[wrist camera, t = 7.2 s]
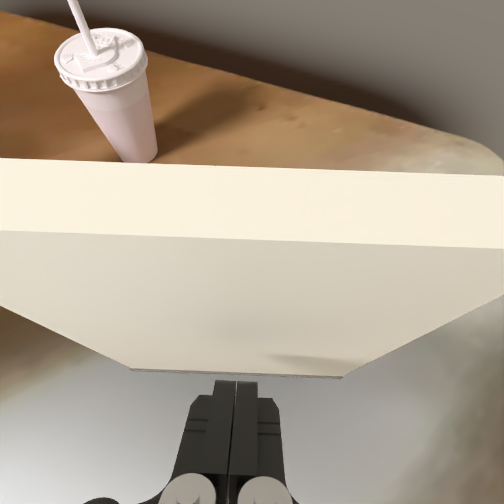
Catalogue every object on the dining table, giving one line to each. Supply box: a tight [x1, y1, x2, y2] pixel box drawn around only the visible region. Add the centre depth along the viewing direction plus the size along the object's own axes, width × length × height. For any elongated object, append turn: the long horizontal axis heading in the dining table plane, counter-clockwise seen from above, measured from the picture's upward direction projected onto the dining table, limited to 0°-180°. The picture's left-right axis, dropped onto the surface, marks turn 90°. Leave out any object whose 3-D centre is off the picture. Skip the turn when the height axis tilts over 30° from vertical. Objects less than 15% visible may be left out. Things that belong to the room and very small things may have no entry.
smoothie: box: [54, 0, 158, 163], centre depth 26 cm, size 6×6×14 cm
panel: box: [0, 158, 504, 379], centre depth 13 cm, size 12×2×16 cm, turn 88°
